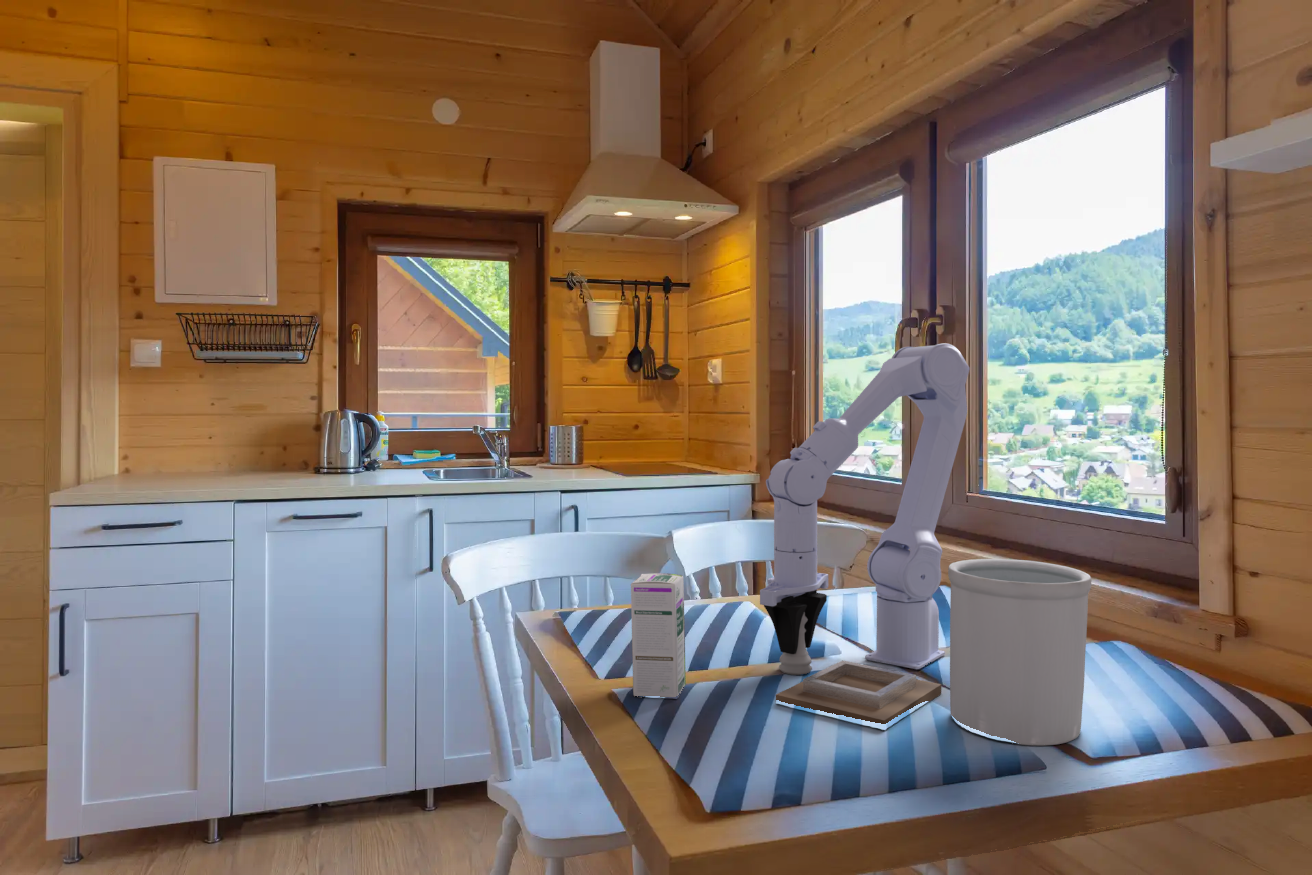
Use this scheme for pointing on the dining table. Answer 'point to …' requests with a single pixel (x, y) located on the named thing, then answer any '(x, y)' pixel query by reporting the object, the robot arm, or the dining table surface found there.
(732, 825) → the dining table surface
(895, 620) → the robot arm
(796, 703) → the collar board
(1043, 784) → the dining table surface
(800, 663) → the rook chess piece
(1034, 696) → the utensil holder
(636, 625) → the syrup box
